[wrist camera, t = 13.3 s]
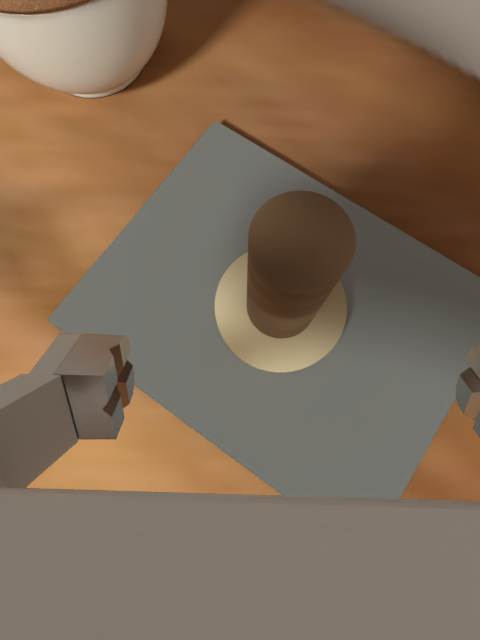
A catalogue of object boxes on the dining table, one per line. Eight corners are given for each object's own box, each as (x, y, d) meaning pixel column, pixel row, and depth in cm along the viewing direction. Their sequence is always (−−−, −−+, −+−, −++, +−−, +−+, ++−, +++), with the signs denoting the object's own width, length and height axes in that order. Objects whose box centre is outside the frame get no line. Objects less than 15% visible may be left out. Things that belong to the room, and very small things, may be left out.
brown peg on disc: (190, 324, 19) (155, 262, 12) (262, 229, 20) (273, 116, 13) (297, 399, 18) (336, 385, 11) (366, 294, 19) (444, 214, 12)
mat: (52, 322, 20) (46, 319, 19) (215, 127, 23) (215, 120, 22) (362, 552, 17) (366, 557, 17) (504, 300, 20) (512, 296, 19)
